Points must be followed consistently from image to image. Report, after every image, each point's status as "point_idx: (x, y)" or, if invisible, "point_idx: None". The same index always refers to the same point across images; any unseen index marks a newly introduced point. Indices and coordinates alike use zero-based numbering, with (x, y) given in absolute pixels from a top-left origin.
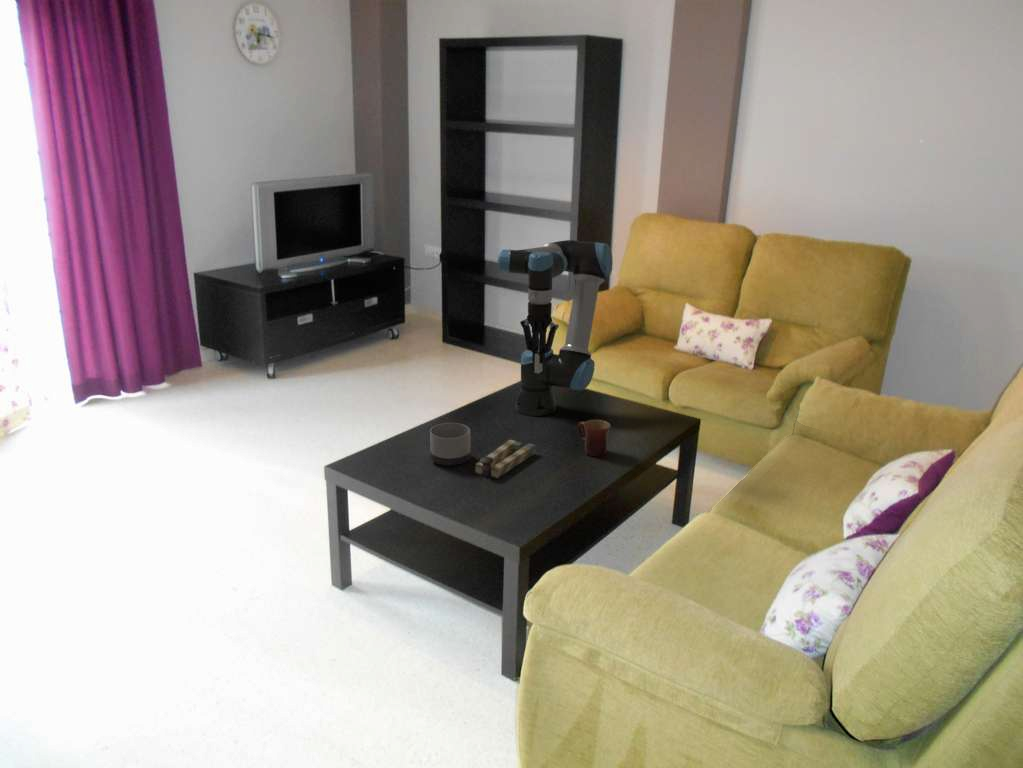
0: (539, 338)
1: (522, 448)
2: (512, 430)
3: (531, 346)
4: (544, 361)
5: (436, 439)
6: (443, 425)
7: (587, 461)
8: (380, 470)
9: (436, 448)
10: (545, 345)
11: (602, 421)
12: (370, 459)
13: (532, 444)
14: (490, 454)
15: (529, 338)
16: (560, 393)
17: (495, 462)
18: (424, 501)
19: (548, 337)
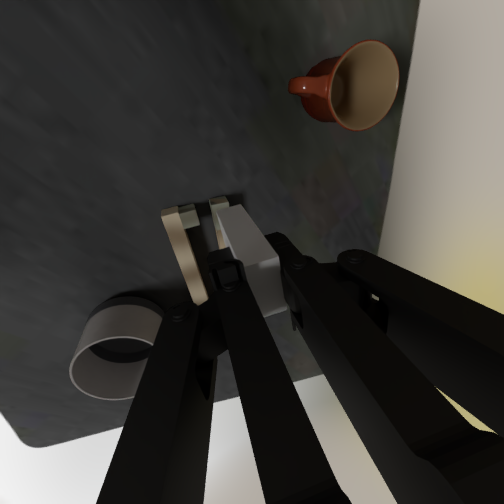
0: (361, 435)
1: (220, 233)
2: (70, 121)
3: (207, 348)
4: (282, 236)
5: (132, 392)
6: (74, 362)
7: (325, 144)
8: (90, 407)
9: (134, 376)
10: (344, 297)
11: (366, 44)
12: (35, 407)
13: (222, 203)
14: (191, 290)
15: (198, 446)
16: None
17: (202, 280)
18: (216, 395)
19: (496, 420)
